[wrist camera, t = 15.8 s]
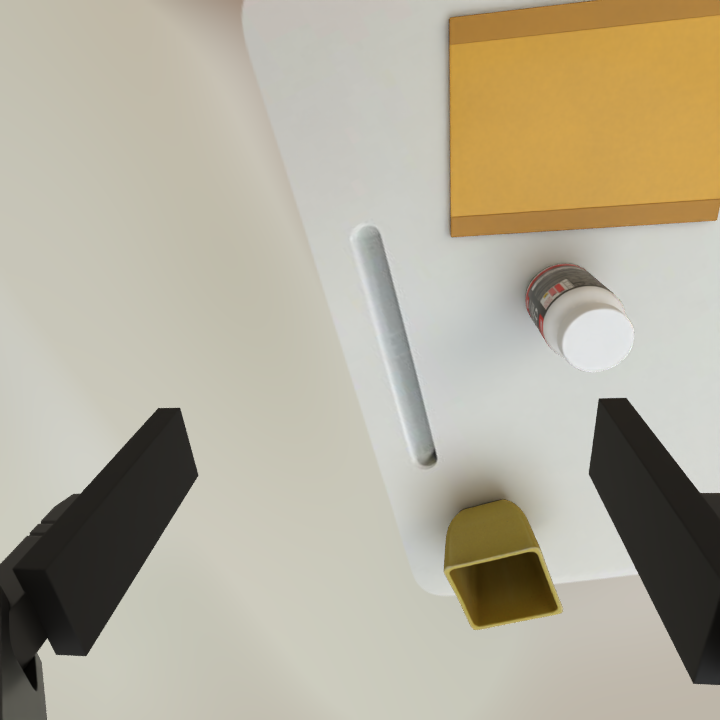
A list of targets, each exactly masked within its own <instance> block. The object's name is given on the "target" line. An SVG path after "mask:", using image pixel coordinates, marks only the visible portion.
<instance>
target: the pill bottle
mask: <svg viewBox="0 0 720 720" xmlns="http://www.w3.org/2000/svg"><path fill="white" fill-rule="evenodd" d="M525 300H526V307H527V311H528V313H529V315H530V317H531V318H532V320H533V322H534V323H535V325H536V326H537V328H538V329H539V331H540V333H541V334H542V336H543V338H544V339H545V341H546V343H547V344H548V346H549V347H550V348H551V349H552V350H553V351H554V352H555V353H556V354H558V355H560V356H561V357H563V358H565V359H566V360H567V361H568V363H569V364H571V365H572V366H573V367H575V368H577V369H579V370H582V371H586V372H599V371H604V370H607V369H610V368H612V367H614V366H616V365H617V364H619V363H620V362H621V361H622V360H623V359H624V358H625V357H626V356H627V355H628V354H629V352H630V350H631V348H632V346H633V342H634V328H633V325H632V323H631V321H630V320H629V319H628V317H627V316H626V313H625V309H624V307H623V305H622V303H621V301H620V300H619V299H618V298H617V297H616V296H615V295H614V294H613V293H612V292H611V291H610V290H609V289H607V288H606V287H605V286H604V285H603V284H601V283H600V282H599V281H598V280H597V279H596V278H594V277H593V276H592V275H591V274H590V273H589V272H587V271H586V270H585V269H583V268H581V267H579V266H577V265H573V264H557V265H553V266H550V267H548V268H546V269H544V270H543V271H541V272H540V273H539V274H537V275H536V276H535V277H534V279H533V280H532V281H531V283H530V285H529V287H528V289H527V292H526V299H525Z"/></svg>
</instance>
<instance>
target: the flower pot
mask: <svg viewBox="0 0 720 720" xmlns="http://www.w3.org/2000/svg"><path fill="white" fill-rule="evenodd" d="M444 573H445V576H446V577H447V579H448V581H449V583H450V585H451V587H452V589H453V590H454V592H455V594H456V596H457V598H458V600H459V602H460V604H461V606H462V609H463V611H464V613H465V615H466V617H467V619H468V621H469V624H470V626H471V627H472V628H473V629H474V630H480V629H486V628H490V627H495V626H500V625H505V624H510V623H515V622H520V621H525V620H530V619H535V618H541V617H546V616H552V615H556V614H560V613H562V612H563V607H562V604H561V602H560V600H559V597H558V595H557V593H556V590H555V587H554V585H553V582H552V579H551V577H550V574H549V571H548V569H547V566H546V563H545V560H544V557H543V555H542V552H541V549H540V547H539V544H538V542H537V540H536V538H535V536H534V533H533V531H532V529H531V526H530V524H529V522H528V520H527V518H526V516H525V514H524V513H523V511H522V510H521V509H520V508H519V507H518V506H517V505H515V504H514V503H513V502H510V501H508V500H505V499H503V500H498V501H495V502H491V503H487V504H483V505H480V506H476V507H472V508H468V509H464V510H462V511H460V512H459V513H458V514H457V515H456V516H455V517H454V518H453V520H452V521H451V523H450V525H449V527H448V530H447V535H446V545H445V559H444Z"/></svg>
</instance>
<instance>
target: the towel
mask: <svg viewBox="0 0 720 720" xmlns="http://www.w3.org/2000/svg"><path fill="white" fill-rule="evenodd" d="M449 60H450V207H451V237H463V236H478V235H494V234H510V233H526V232H542V231H558V230H574V229H589V228H605V227H621V226H637V225H653V224H669V223H684V222H700V221H716V220H717V217H718V212H719V207H720V0H595V1H587V2H578V3H570V4H561V5H553V6H544V7H536V8H527V9H519V10H510V11H502V12H493V13H485V14H476V15H468V16H459V17H451V18H450V19H449Z"/></svg>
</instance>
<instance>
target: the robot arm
mask: <svg viewBox="0 0 720 720" xmlns="http://www.w3.org/2000/svg"><path fill="white" fill-rule="evenodd" d="M589 475H590V477H591V479H592V481H593V483H594V485H595V487H596V489H597V491H598V493H599V495H600V497H601V499H602V501H603V503H604V505H605V507H606V509H607V511H608V513H609V515H610V517H611V519H612V521H613V523H614V525H615V527H616V529H617V531H618V533H619V535H620V537H621V539H622V541H623V543H624V545H625V547H626V549H627V551H628V554H629V556H630V558H631V560H632V562H633V564H634V566H635V568H636V570H637V572H638V574H639V576H640V577H641V579H642V581H643V584H644V586H645V587H646V590H647V592H648V594H649V596H650V598H651V600H652V601H653V604H654V606H655V608H656V610H657V612H658V614H659V616H660V618H661V620H662V622H663V624H664V626H665V628H666V630H667V632H668V634H669V636H670V637H671V640H672V641H673V644H674V646H675V648H676V650H677V652H678V654H679V656H680V658H681V660H682V662H683V664H684V666H685V668H686V670H687V672H688V673H689V676H690V677H691V679H692V682H693V684H711V685H720V493H700V492H699V491H698V490H697V489H696V487H695V486H694V485H693V483H692V482H691V481H690V480H689V478H688V477H687V476H686V474H685V473H684V472H683V470H682V469H681V468H680V467H679V465H678V464H677V463H676V461H675V460H674V459H673V458H672V456H671V455H670V454H669V452H668V451H667V450H666V449H665V447H664V446H663V445H662V443H661V442H660V441H659V440H658V438H657V437H656V436H655V434H654V433H653V432H652V430H651V429H650V428H649V427H648V425H647V424H646V423H645V421H644V420H643V419H642V418H641V416H640V415H639V414H638V412H637V411H636V410H635V409H634V407H633V406H632V405H631V403H630V402H629V401H628V400H627V398H603V399H599V402H598V409H597V417H596V424H595V432H594V439H593V446H592V454H591V461H590V469H589ZM197 477H198V473H197V468H196V465H195V461H194V458H193V454H192V450H191V446H190V443H189V439H188V435H187V432H186V428H185V424H184V421H183V417H182V413H181V410H180V408H158V409H157V410H156V412H155V413H154V414H153V415H152V416H151V417H150V418H149V419H148V420H147V421H146V422H145V423H144V425H143V426H142V427H141V428H140V429H139V430H138V431H137V432H136V433H135V434H134V436H133V437H132V438H131V439H130V440H129V441H128V442H127V443H126V444H125V446H124V447H123V448H122V449H121V450H120V451H119V452H118V453H117V454H116V455H115V457H114V458H113V459H112V460H111V461H110V462H109V463H108V464H107V465H106V466H105V467H104V469H103V470H102V471H101V472H100V473H99V474H98V475H97V476H96V477H95V478H94V479H93V481H92V482H91V483H90V484H89V485H88V486H87V487H86V488H85V489H84V490H83V492H82V493H81V494H73V495H71V496H70V497H68V498H67V499H66V500H64V501H62V502H61V503H59V504H58V505H56V506H55V507H54V508H53V509H52V510H51V511H50V512H49V513H48V514H47V515H46V516H45V517H44V519H43V520H42V521H41V524H38V525H37V526H36V527H35V528H34V529H33V530H32V531H31V532H30V535H29V536H27V537H26V538H25V539H24V540H23V541H22V542H21V543H20V544H19V545H18V546H17V547H16V548H15V549H14V550H13V552H11V554H9V556H8V557H7V558H6V559H5V560H4V561H3V562H2V563H1V564H0V720H47V715H46V705H45V694H44V683H43V672H42V662H41V660H40V658H39V656H38V654H37V652H38V650H39V648H40V647H41V646H42V645H43V643H44V642H45V640H46V639H47V638H48V640H49V642H50V644H51V646H52V648H53V649H54V651H55V653H56V655H73V656H87V654H88V653H89V651H90V649H91V648H92V646H93V644H94V643H95V641H96V639H97V638H98V636H99V635H100V633H101V632H102V630H103V628H104V627H105V625H106V623H107V622H108V620H109V619H110V617H111V615H112V614H113V612H114V611H115V609H116V607H117V605H118V604H119V603H120V601H121V599H122V597H123V596H124V594H125V593H126V591H127V590H128V588H129V586H130V585H131V583H132V582H133V580H134V578H135V577H136V575H137V574H138V572H139V570H140V569H141V567H142V566H143V564H144V562H145V561H146V559H147V557H148V556H149V554H150V553H151V551H152V549H153V548H154V546H155V545H156V543H157V541H158V540H159V538H160V536H161V535H162V533H163V532H164V530H165V528H166V527H167V525H168V524H169V522H170V520H171V519H172V517H173V515H174V514H175V512H176V511H177V509H178V507H179V506H180V504H181V502H182V501H183V499H184V498H185V496H186V495H187V493H188V491H189V490H190V488H191V487H192V485H193V483H194V482H195V480H196V478H197Z"/></svg>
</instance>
